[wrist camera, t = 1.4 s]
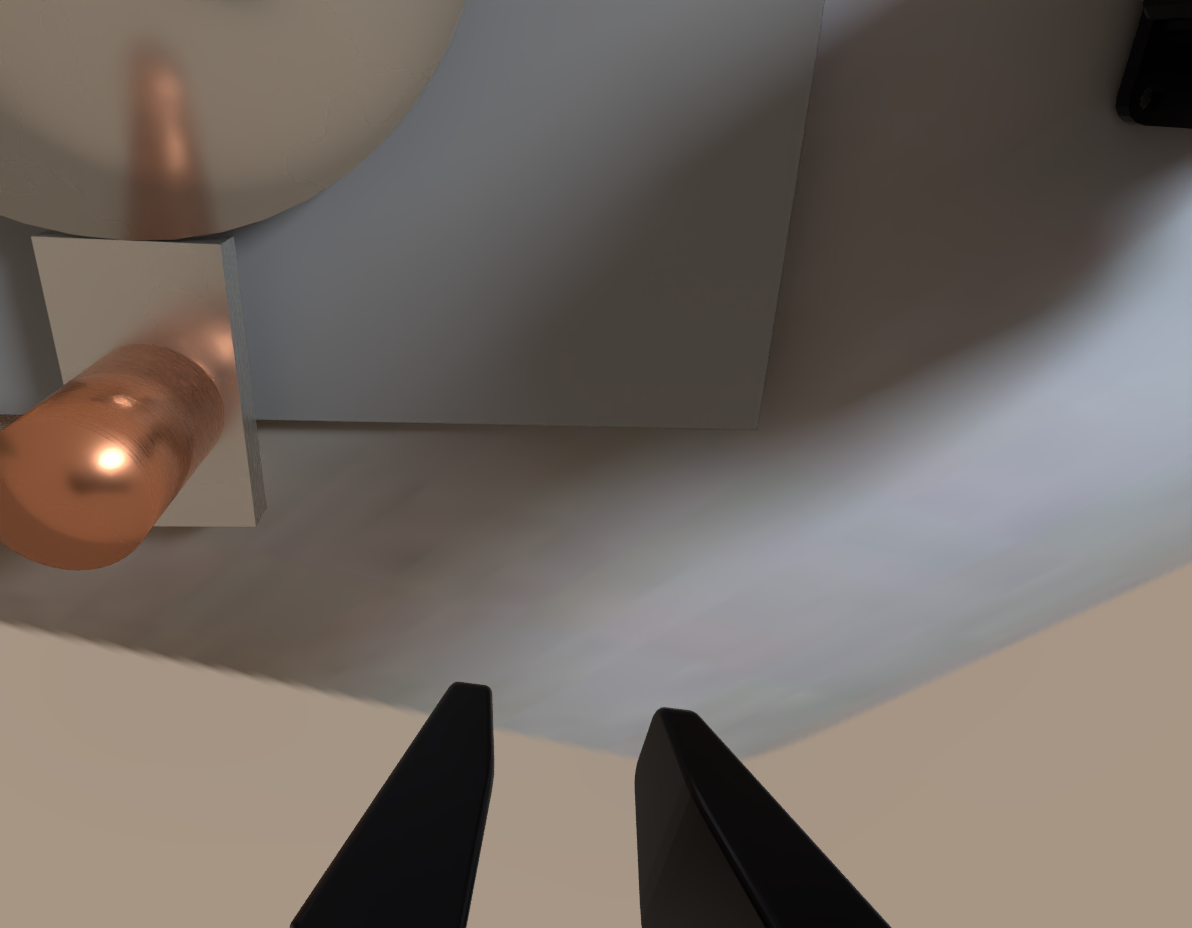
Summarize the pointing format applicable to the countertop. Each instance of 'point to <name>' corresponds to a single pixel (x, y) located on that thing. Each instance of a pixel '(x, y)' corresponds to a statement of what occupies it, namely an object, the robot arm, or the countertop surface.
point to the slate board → (528, 232)
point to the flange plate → (171, 234)
